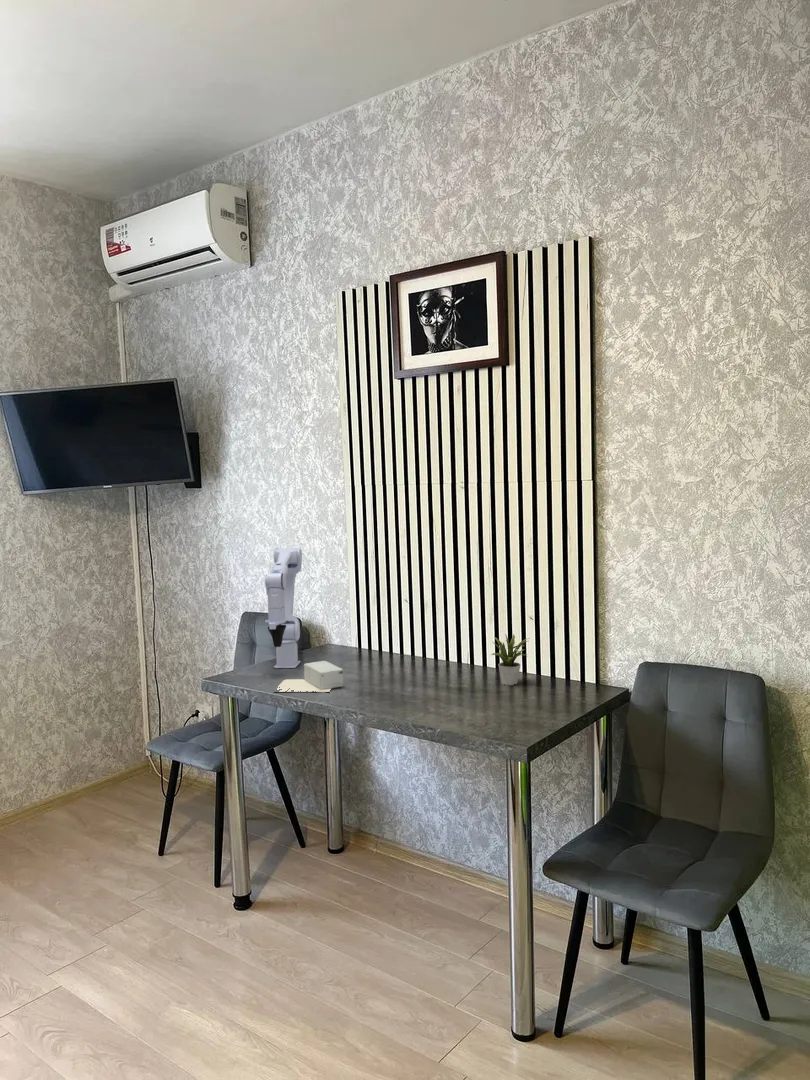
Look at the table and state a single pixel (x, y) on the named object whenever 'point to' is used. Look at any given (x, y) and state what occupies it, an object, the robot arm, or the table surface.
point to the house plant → (509, 661)
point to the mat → (299, 686)
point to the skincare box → (323, 674)
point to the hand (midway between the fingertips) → (277, 646)
